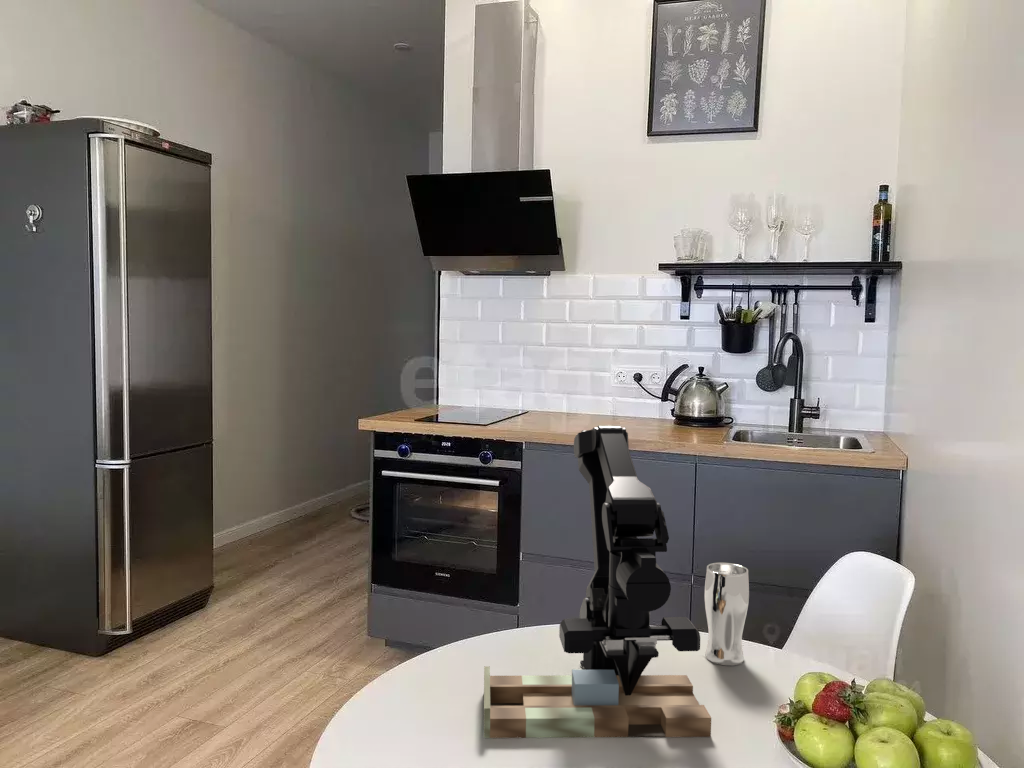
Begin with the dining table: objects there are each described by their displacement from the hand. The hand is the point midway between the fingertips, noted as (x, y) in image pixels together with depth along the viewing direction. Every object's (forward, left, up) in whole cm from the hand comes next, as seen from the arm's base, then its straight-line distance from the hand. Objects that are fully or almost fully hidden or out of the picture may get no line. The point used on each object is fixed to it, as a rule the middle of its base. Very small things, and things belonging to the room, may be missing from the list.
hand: (627, 694), depth 107 cm
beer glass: (-25, -9, -3) cm, 27 cm away
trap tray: (+5, -2, -3) cm, 6 cm away
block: (+4, -2, -1) cm, 5 cm away
